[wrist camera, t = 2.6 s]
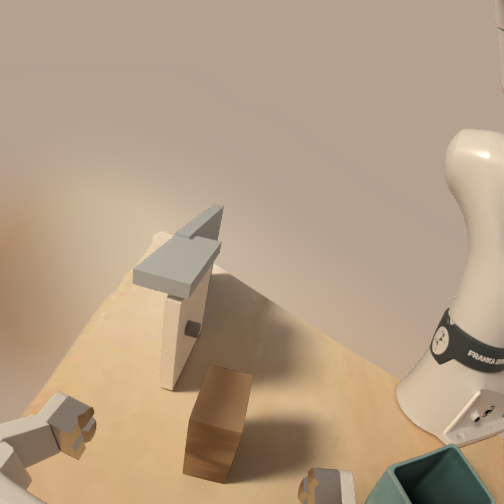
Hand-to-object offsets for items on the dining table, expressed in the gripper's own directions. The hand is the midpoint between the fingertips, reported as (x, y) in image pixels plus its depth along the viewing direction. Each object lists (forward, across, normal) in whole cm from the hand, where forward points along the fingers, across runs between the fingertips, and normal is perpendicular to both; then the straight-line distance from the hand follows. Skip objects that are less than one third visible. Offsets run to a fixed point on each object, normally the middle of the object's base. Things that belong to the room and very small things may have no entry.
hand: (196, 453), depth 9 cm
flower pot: (+4, -19, +18) cm, 27 cm away
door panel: (+26, +6, +17) cm, 32 cm away
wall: (+36, +8, +18) cm, 41 cm away
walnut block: (+12, 0, +18) cm, 22 cm away
